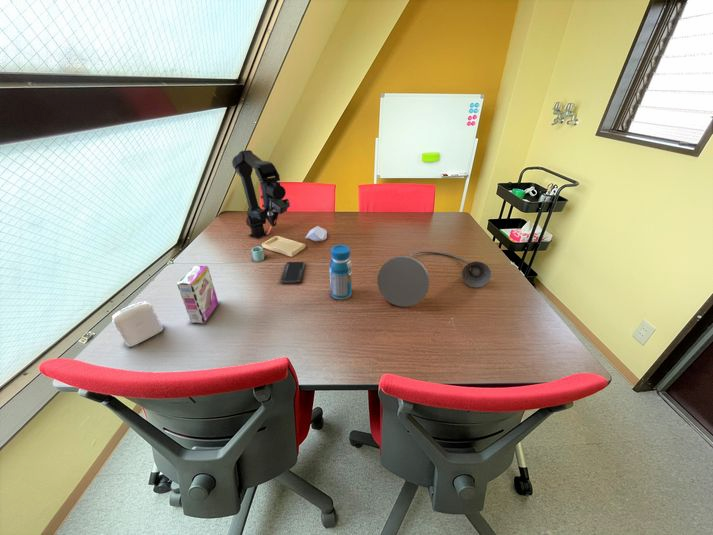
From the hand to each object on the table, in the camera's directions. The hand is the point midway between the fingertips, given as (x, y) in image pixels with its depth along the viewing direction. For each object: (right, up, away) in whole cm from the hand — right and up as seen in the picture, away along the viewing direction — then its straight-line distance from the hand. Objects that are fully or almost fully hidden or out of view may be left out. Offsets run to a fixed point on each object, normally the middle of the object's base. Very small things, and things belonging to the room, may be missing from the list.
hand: (273, 226), depth 134 cm
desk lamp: (+72, -25, -12) cm, 77 cm away
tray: (+2, -9, +9) cm, 13 cm away
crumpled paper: (+18, -4, +18) cm, 26 cm away
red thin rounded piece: (-1, 0, +1) cm, 2 cm away
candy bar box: (-15, -35, -32) cm, 50 cm away
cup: (-7, -15, 0) cm, 17 cm away
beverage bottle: (+32, -30, -21) cm, 49 cm away
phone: (+11, -22, -10) cm, 27 cm away
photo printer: (-29, -42, -41) cm, 66 cm away
